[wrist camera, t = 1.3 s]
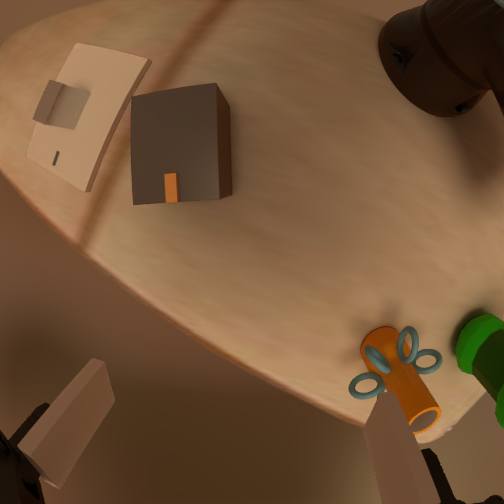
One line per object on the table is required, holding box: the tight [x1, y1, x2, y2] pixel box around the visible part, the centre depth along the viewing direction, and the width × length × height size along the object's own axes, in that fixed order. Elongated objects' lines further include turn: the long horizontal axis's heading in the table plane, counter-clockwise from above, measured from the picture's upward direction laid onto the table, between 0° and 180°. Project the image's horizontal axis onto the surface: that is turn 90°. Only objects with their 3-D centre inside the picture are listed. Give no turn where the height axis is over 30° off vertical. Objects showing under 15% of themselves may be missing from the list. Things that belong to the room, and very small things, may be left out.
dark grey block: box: [131, 83, 232, 205], centre depth 25 cm, size 10×8×9 cm
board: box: [26, 43, 152, 192], centre depth 25 cm, size 18×14×7 cm
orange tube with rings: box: [349, 326, 442, 435], centre depth 27 cm, size 12×10×15 cm
